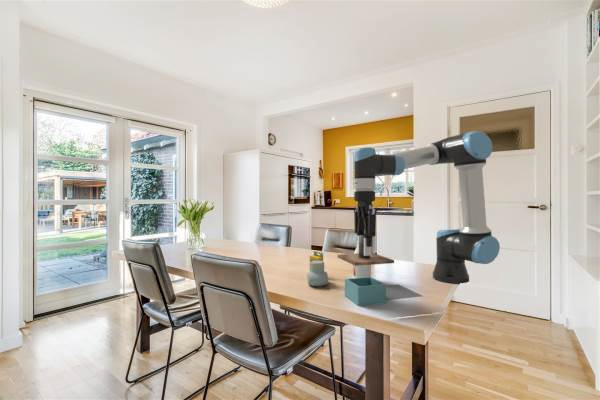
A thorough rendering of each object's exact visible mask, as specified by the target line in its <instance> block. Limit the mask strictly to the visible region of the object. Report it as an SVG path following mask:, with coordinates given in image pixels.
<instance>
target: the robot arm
mask: <svg viewBox="0 0 600 400" xmlns="http://www.w3.org/2000/svg"><path fill="white" fill-rule="evenodd" d="M492 152H493V143H492V140H491V138H490V137H489V136H488V135H487V133H484V132H483V131H480V130H474V131H468V132H467V131H466V132H464V133H460V134H456V135H453V136H449V137H445V138H443V139H441V140H438V141H434V142H431V143H428V144H426V145H425V146H424V147H419V148H415V149H410V150H406V151H401V152H396V153H393V154H377V153H376V149H375V148H374V147H359V148H356V149H355V150H354V156H353V164H354V166H353V169H354V171H353V175H354V177H353V178H354V180H353V185H354V190H355V191H354V192H353V200H354V201H355V202H357V205H356V207H353V213H354V215H353V216H354V222H353V223H354V234H356V236H357V237H358V242H357V244H358V253H359V235H365V236H363V237H364V256H372V253H373V252H372V251H373V249H372V246H373V244H372V243H373V239H372V238H373V237H376V233H377V232H376V231H377V230H376V228H377V227H376V226H377V225H376V224H377V212H378V209H377V208H374V207H373V202H375V201H376V191H374V190H376V177H383V176H384V177H385V176H392V177H393V176H399V175H402V174H403V173H404V171H405V170H406V169H411V168H417V167H420V166H424V165H429V166H434V165H442V164H444V165H445V164H453V167H454V168H455V169H456V170H457V171H458V181H459V193H460V206H461V219H462V227H461V228H458V229H440V230H438V231H437V232H436V263H435V266H434V269H433V271H432V278H433V279H434V280H436V281H439V282H442V283H450V284H465V283H469V282H470V275H469V273H468V270H467V266H466V263H465V262H466V261H468V262H471V263H472V262H473V263H475V264H480V265H481V264H482V265H488V264H490V263H492V262H494V261H495V260H496V258H497V257H498V256H499V254H500V253H499V252H500V248H501V247H500V242H499V240H498V239H497V238H496V237H494V236H493V235H492V234H493V233H492V229H490V227H488V226H487V216H486V215H487V213H486V199H485V189H484V188H485V187H484V186H485V185H484V173H483V172H484V171H483V168H484V167H485V166H486V165H487V159H488V158H489V157H490V156H491V155H492Z"/></svg>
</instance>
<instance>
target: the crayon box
mask: <svg viewBox="0 0 600 400" xmlns="http://www.w3.org/2000/svg"><path fill="white" fill-rule="evenodd" d="M312 261H323V262H324V253H323V252H318V251H316V250H314V251H313V254H312V255H309V272H310V271H311V262H312Z"/></svg>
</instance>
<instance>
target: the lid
mask: <svg viewBox="0 0 600 400" xmlns="http://www.w3.org/2000/svg"><path fill="white" fill-rule="evenodd" d="M363 236H365V235H359V254H354V253H348V254H347V253H346V254H345V253H343V254H337V258H338V259H340V260H342V261H344V262H347V263H348V264H350V265H353V266H354V265H355V266H359V265H371V266H372V265H385V264H386V265H387V264H388V265H389V264H395V260H394V259H392V258H389V257H387V256H383V255H381V254H380V255H379V254H377V253H374V252H372V256H364V237H363Z"/></svg>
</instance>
